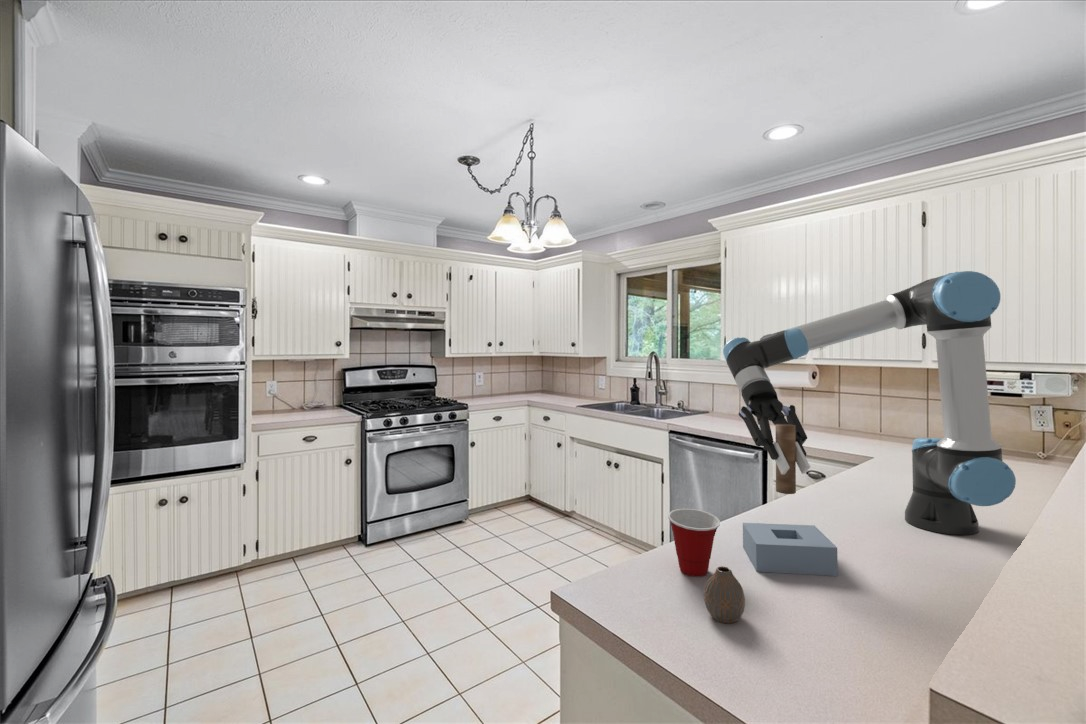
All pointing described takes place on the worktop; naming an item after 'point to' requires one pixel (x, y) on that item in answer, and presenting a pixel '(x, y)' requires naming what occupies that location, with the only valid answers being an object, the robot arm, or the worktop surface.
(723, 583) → the vase
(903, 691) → the worktop surface
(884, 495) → the worktop surface
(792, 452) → the walnut peg
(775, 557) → the bore block
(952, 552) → the worktop surface
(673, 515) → the plastic cup
